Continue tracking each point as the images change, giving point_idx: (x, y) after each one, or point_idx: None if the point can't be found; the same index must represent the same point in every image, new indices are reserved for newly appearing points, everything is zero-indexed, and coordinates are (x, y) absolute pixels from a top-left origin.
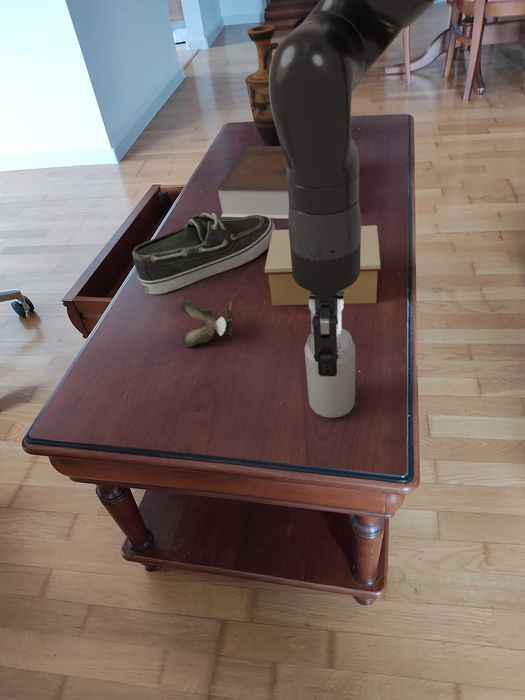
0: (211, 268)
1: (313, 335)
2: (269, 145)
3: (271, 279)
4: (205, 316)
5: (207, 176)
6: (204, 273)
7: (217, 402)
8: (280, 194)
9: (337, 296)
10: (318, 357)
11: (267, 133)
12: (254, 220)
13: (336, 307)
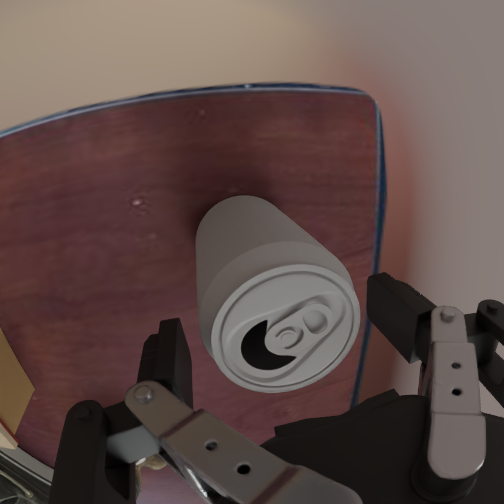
0: (28, 464)
1: (268, 383)
2: None
3: (15, 423)
4: (138, 477)
5: None
6: (39, 467)
7: (267, 401)
8: None
9: (466, 485)
10: (495, 353)
11: None
12: None
13: (387, 435)
